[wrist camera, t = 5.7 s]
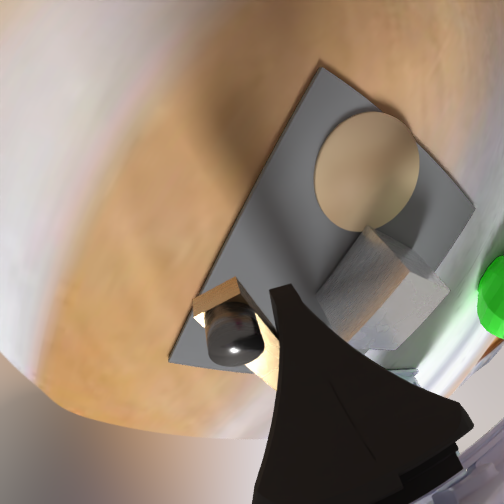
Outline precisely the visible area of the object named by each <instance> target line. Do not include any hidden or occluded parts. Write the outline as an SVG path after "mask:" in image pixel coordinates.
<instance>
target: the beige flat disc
mask: <svg viewBox="0 0 504 504" xmlns="http://www.w3.org/2000/svg"><path fill="white" fill-rule="evenodd" d="M418 175H419V152H418V147H417V144H416V141H415V139H414V137H413V135H412V133H411V132H410V130H409V129H408V128H407V127H406V125H405V124H404V123H402V122H401V121H400V120H399V119H397V118H395V117H393V116H391V115H388V114H385V113H381V112H362V113H359V114H356V115H353V116H351V117H349V118H347V119H346V120H344V121H343V122H341V123H340V124H339V125H338V126H337V127H336V128H334V129H333V131H332V132H331V133H330V134H329V135H328V137H327V138H326V140H325V141H324V143H323V145H322V147H321V149H320V151H319V154H318V156H317V159H316V163H315V168H314V191H315V195H316V199H317V202H318V204H319V206H320V208H321V209H322V211H323V213H324V214H325V215H326V216H327V217H328V218H329V219H330V220H331V221H332V222H333V223H334V224H335V225H337V226H339V227H340V228H343V229H345V230H349V231H354V232H362V231H363V230H364V228H365V227H366V226H367V225H368V226H370V227H372V228H374V229H376V228H378V227H381V226H383V225H384V224H386V223H388V222H389V221H391V220H392V219H393V218H394V217H395V216H396V215H397V214H398V213H400V211H401V210H402V209H403V208H404V207H405V205H406V204H407V202H408V201H409V199H410V197H411V195H412V193H413V191H414V189H415V186H416V183H417V179H418Z"/></svg>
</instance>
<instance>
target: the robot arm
mask: <svg viewBox="0 0 504 504" xmlns="http://www.w3.org/2000/svg"><path fill="white" fill-rule="evenodd" d="M269 294H270V299H271V305H272V310H273V315H274V321H275V326H276V330H277V333H278V336H279V371H278V383H277V392H276V399H275V406H274V412H273V418H272V423H271V428H270V432H269V437H268V441H267V445H266V449H265V453H264V457H263V461H262V464H261V467H260V470H259V473H258V477H257V480H256V483H255V486H254V494H253V500H252V504H504V418H503V419H502V420H501V421H499V422H498V423H497V424H496V425H495V426H494V427H493V428H492V429H491V430H489V431H488V432H487V433H486V434H485V435H484V436H482V437H481V438H480V439H479V440H477V441H476V442H475V443H474V444H473V445H471V446H470V447H469V448H467V449H466V450H465V451H463V452H462V453H461V454H460V453H459V451H458V446H457V445H456V443H455V442H456V441H457V440H458V439H460V438H461V437H462V436H464V435H465V434H466V433H468V432H469V431H470V430H472V429H473V427H474V424H473V422H472V420H471V419H470V417H469V415H468V414H467V412H466V411H465V410H464V408H463V407H462V406H461V405H460V403H459V402H456V401H453V400H450V399H448V398H445V397H442V396H440V395H437V394H435V393H432V392H430V391H427V390H425V389H423V388H421V387H420V385H419V383H418V382H417V380H416V378H415V377H414V376H415V375H416V374H417V373H418V372H419V371H418V369H409V370H386V369H385V368H383V367H382V366H380V365H378V364H377V363H375V362H374V361H372V360H371V359H369V358H368V357H366V356H365V355H363V354H362V353H360V352H359V351H358V350H356V349H355V348H354V347H352V346H351V345H350V344H348V343H347V342H346V341H345V340H343V339H342V338H341V337H340V336H338V335H337V334H336V333H335V332H334V331H333V330H331V329H330V328H329V327H328V326H327V325H326V324H325V323H324V322H323V321H321V320H320V319H319V318H318V317H317V316H316V315H315V314H314V313H313V312H312V311H311V310H310V309H309V308H308V307H307V306H306V305H305V304H304V303H303V302H302V300H301V297H300V296H299V294H298V293H297V291H296V290H295V288H294V287H293V285H292V284H291V283H290V284H287V285H283V286H280V287H276V288H273V289H269ZM466 469H467V471H466Z"/></svg>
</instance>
